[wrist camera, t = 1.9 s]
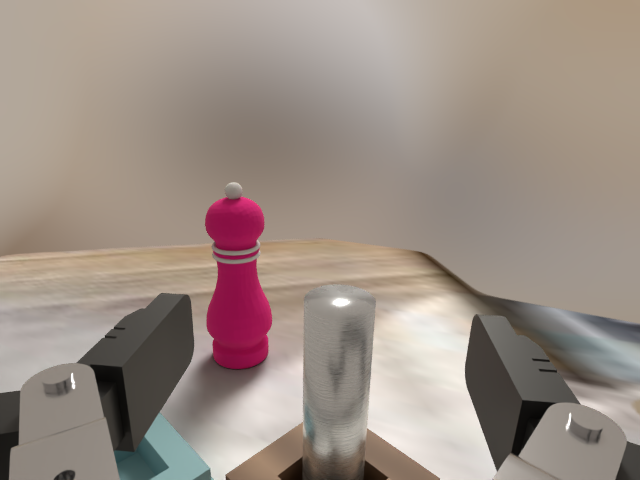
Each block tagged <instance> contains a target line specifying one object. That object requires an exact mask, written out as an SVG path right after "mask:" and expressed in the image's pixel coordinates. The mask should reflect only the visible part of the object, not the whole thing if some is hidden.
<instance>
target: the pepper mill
mask: <svg viewBox="0 0 640 480" xmlns="http://www.w3.org/2000/svg"><path fill="white" fill-rule="evenodd" d="M242 193H243V190H242V187H241V186H240V185H239V184H238V183H235V182H233V183H229V184H228V185H227V186H226V188H225V194H226V196H227V197H226V198H223V199H220V200H218V201H216V202H215V203H214V204H213V205H211V207H210V208H209V210H208V212H207V215H206V219H205V226H206V231H207V233H208V234H209V236H210V237H211V238H212V239H213V240H214V241H215V242H214V243H213V244H212V249H213V254H212V256H213V258H214V259H215V260H217V266H218V279H217V284H216V289H215V292H214V294H213V297H212V300H211V302H210V305H209V307H208V312H207V329H208V332H209V334H210V335H211V336H212V337H213V338H214V340H213V357H214V359H215V361H216V362H217V363H218V364H219V365H221V366H223V367H226V368H230V369H244V368H250V367H253V366H255V365H257V364H259V363H261V362H262V361H263V360H264V359H265V358H266V356H267V355H268V337H267V335H266V334H267V332H268V331H269V330H270V328H271V325H272V314H271V309H270V306H269V302H268V300H267V298H266V296H265V294H264V292H263V290H262V288H261V286H260V283H259V280H258V276H257V268H256V262H257V258H258V257H259V256H260V250H259V248H260V243H259V241H258V240H257V239H258V237H259V236H260V235H261V233H262V232H263V229H264V216H263V213H262V210H261V208H260V207H259V206H258V205H257V204H256V203H255V202H253V201H252V200H250V199H248V198H244V197H241V196H242Z"/></svg>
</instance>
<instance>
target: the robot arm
mask: <svg viewBox="0 0 640 480" xmlns="http://www.w3.org/2000/svg"><path fill="white" fill-rule="evenodd" d="M193 351H194V335H193V322H192V309H191V300H190V297H189V296H188V295H185V294H169V293H161V294H159V295H158V296H157V297H156V298H155V299H154V300H153V301H152V302H151V303H150V304H149V305H148V306H147V307H146V308H145V309H139V310H137V311H135V312H133V313H131V314H129V315H127V316H125V317H124V318H123V319H122V320H121V321H120V322H119V323H118V324H117V325H116V326H115V327H114V329H111V330H110V331H109V332H108V333H107V334H106V335H105V338H102V339H101V340H100V341H99V342H98V343H97V344H96V345H95V346H94V347H93V348H92V349H90V350H89V351H88V352H87V353H86V354H85V355H84V356H83V357H82V358H81V359H80V360H79V361H78V362H77V363H69V364H62V365H58V366H54V367H51V368H48V369H46V370H43V371H41V372H39V373H37V374H36V375H34V376H33V377H31V378H30V379H29V380H28V381H27V382H25V384H24V385H23V386H22V388H21V391H14V392H6V393H0V480H120V478H119V474H118V469H117V465H116V460H115V456H114V451H115V450H116V451H127V452H135V450H136V449H137V447H138V445H139V444H140V442H141V441H142V439H143V438H144V436H145V434H146V433H147V431H148V430H149V428H150V426H151V425H152V423H153V422H154V420H155V418H156V417H157V415H158V414H159V412H160V410H161V409H162V407H163V406H164V404H165V403H166V401H167V399H168V398H169V396H170V395H171V393H172V391H173V390H174V388H175V387H176V385H177V383H178V382H179V380H180V379H181V377H182V375H183V374H184V372H185V371H186V369H187V368H188V366H189V364H190V362H191V359H192V356H193ZM465 379H466V385H467V388H468V391H469V394H470V397H471V400H472V402H473V405H474V408H475V411H476V414H477V416H478V419H479V422H480V425H481V428H482V431H483V433H484V436H485V439H486V442H487V445H488V447H489V450H490V453H491V456H492V459H493V461H494V464H495V467H496V470H497V473H496V475H495V476H494V478H493V479H492V480H640V446H639V445H636V444H633V443H630V442H628V441H627V439H626V436H625V434H624V432H623V431H622V429H621V428H620V427H619V426H618V425H617V424H616V423H615V422H614V421H613V420H612V419H610V418H609V417H607V416H606V415H604V414H602V413H601V412H599V411H597V410H594V409H592V408H589V407H587V406H584V405H581V404H580V403H579V401H578V400H577V398H576V397H575V395H574V394H573V393H572V391H571V390H570V388H569V387H568V385H567V384H566V383H565V381H564V380H563V378H562V377H561V375H560V374H559V373H557V370H556V368H555V367H554V365H553V364H552V363H551V362H550V361H549V358H548V357H547V355H546V354H545V353H544V351H543V350H542V348H541V347H540V346H539V345H537V344H536V343H534V342H533V341H532V340H530V339H529V338H528V337H526V336H522V335H516V333H515V331H514V330H513V328H512V327H511V325H510V324H509V322H508V320H507V319H506V318H505V317H504V316H493V315H478V314H476V315H475V316H474V318H473V321H472V326H471V332H470V338H469V345H468V351H467V357H466V364H465Z"/></svg>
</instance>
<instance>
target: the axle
mask: <svg viewBox="0 0 640 480" xmlns="http://www.w3.org/2000/svg"><path fill="white" fill-rule="evenodd" d="M375 305H376V301H375V298H374V297H373V296H372V295H371V294H370V293H369V292H367V291H365V290H363V289H361V288H358V287H354V286H349V285H325V286H321V287H317V288H315V289H313V290H311V291H309V292H308V293H307V294H306V295H305V297H304V365H303V480H363V478H364V464H365V449H366V435H367V420H368V406H369V392H370V377H371V363H372V348H373V334H374V320H375Z"/></svg>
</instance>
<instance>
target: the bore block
mask: <svg viewBox="0 0 640 480" xmlns="http://www.w3.org/2000/svg"><path fill="white" fill-rule="evenodd" d="M226 480H303V422H302V423H301V424H299V425H298V426H297V427H295V428H294V429H292V430H291V431H289V432H288V433H286V434H285V435H283V436H282V437H280V438H279V439H277V440H276V441H275V442H273V443H272V444H270V445H269V446H267V447H266V448H264V449H263V450H261V451H260V452H258V453H257V454H255V455H254V456H253V457H251V458H250V459H248V460H247V461H245V462H244V463H242V464H241V465H239V466H238V467H236V468H235V469H233V470H232V471H231V472H229V473H228V474H226ZM363 480H440V478H438V477H437V476H436V475H434V474H433V473H431V472H430V471H428V470H427V469H425V468H424V467H423V466H421V465H420V464H418V463H417V462H415V461H414V460H412V459H411V458H409V457H408V456H407V455H405V454H404V453H402V452H401V451H399V450H398V449H396V448H395V447H393V446H392V445H391V444H389V443H388V442H386V441H385V440H383V439H382V438H380V437H379V436H378V435H376V434H375V433H373V432H372V431H370V430H369V429H367V435H366V449H365V464H364V478H363Z"/></svg>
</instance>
